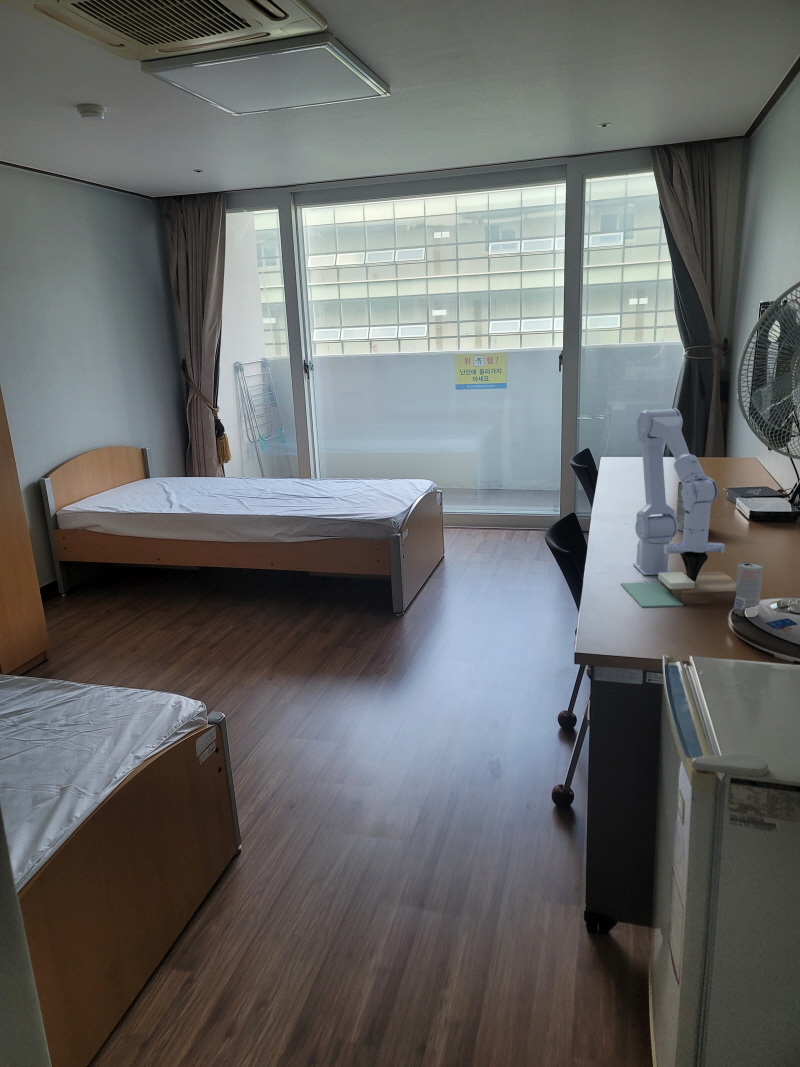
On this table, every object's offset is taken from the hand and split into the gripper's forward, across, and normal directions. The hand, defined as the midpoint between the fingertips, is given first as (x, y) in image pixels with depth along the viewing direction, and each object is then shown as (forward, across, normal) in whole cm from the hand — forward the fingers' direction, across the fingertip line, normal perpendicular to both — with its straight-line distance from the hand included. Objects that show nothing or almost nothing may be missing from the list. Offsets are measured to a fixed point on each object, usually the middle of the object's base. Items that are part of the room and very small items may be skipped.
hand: (691, 580), depth 182 cm
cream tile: (+1, -4, 0) cm, 4 cm away
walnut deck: (+4, +3, 0) cm, 5 cm away
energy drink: (+4, +7, -14) cm, 16 cm away
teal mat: (+4, -10, 0) cm, 11 cm away
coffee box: (+4, +24, +58) cm, 63 cm away
